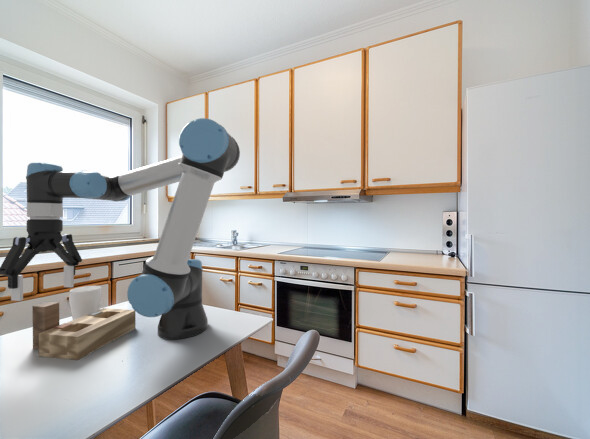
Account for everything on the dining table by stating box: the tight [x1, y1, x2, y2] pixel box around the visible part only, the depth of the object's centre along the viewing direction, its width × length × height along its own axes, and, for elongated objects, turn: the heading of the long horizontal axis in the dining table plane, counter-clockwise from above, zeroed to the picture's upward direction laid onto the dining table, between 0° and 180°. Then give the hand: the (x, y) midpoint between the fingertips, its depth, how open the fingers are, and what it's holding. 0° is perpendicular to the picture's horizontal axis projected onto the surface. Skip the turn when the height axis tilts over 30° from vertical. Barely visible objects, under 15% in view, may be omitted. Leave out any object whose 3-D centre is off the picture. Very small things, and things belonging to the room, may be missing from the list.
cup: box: [68, 285, 103, 320], centre depth 94 cm, size 9×9×12 cm
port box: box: [38, 307, 137, 361], centre depth 81 cm, size 12×20×6 cm, turn 171°
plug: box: [32, 301, 60, 350], centre depth 77 cm, size 4×4×12 cm
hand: (45, 293), depth 77 cm, fingers open, 13 cm apart
